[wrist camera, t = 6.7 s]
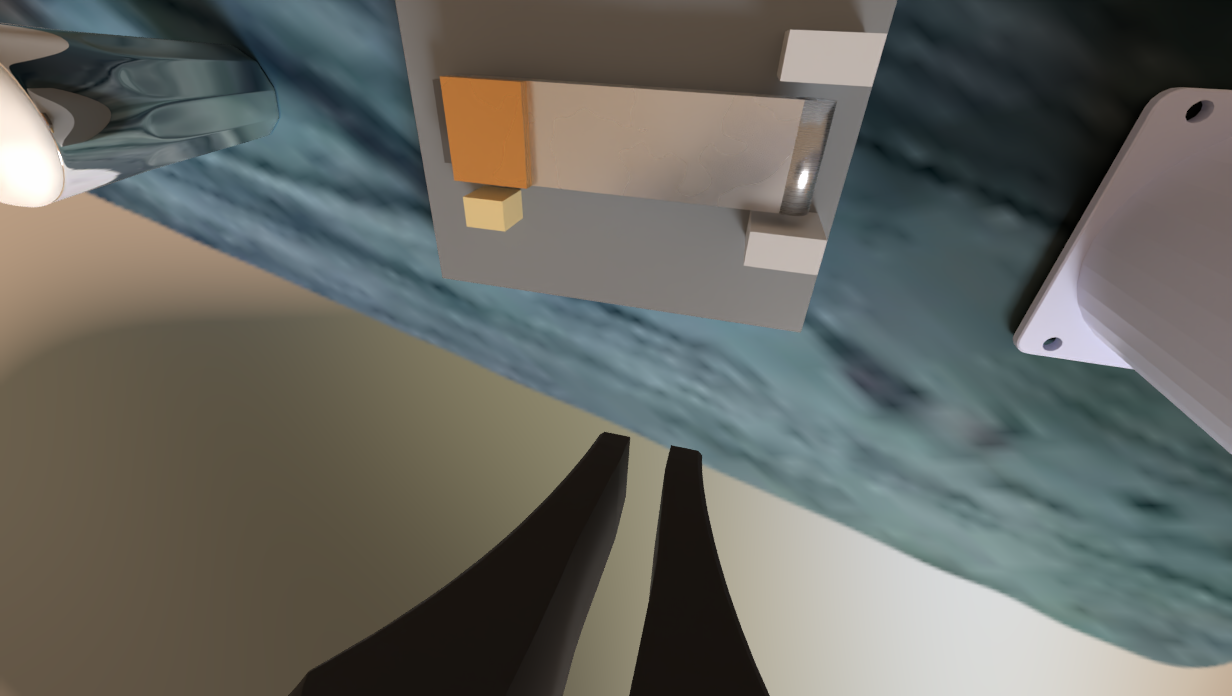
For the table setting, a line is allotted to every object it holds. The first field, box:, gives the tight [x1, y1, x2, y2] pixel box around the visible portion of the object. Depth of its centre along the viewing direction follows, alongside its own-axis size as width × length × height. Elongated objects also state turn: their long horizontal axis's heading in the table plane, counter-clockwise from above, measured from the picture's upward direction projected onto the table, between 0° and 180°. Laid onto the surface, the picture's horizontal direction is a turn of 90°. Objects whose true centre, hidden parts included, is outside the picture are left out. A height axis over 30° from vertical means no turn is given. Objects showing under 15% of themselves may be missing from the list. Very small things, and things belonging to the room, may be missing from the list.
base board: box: [395, 0, 897, 332], centre depth 15 cm, size 14×12×4 cm
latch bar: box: [440, 74, 837, 216], centre depth 14 cm, size 10×3×1 cm, turn 90°
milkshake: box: [0, 23, 279, 207], centre depth 15 cm, size 5×5×10 cm
